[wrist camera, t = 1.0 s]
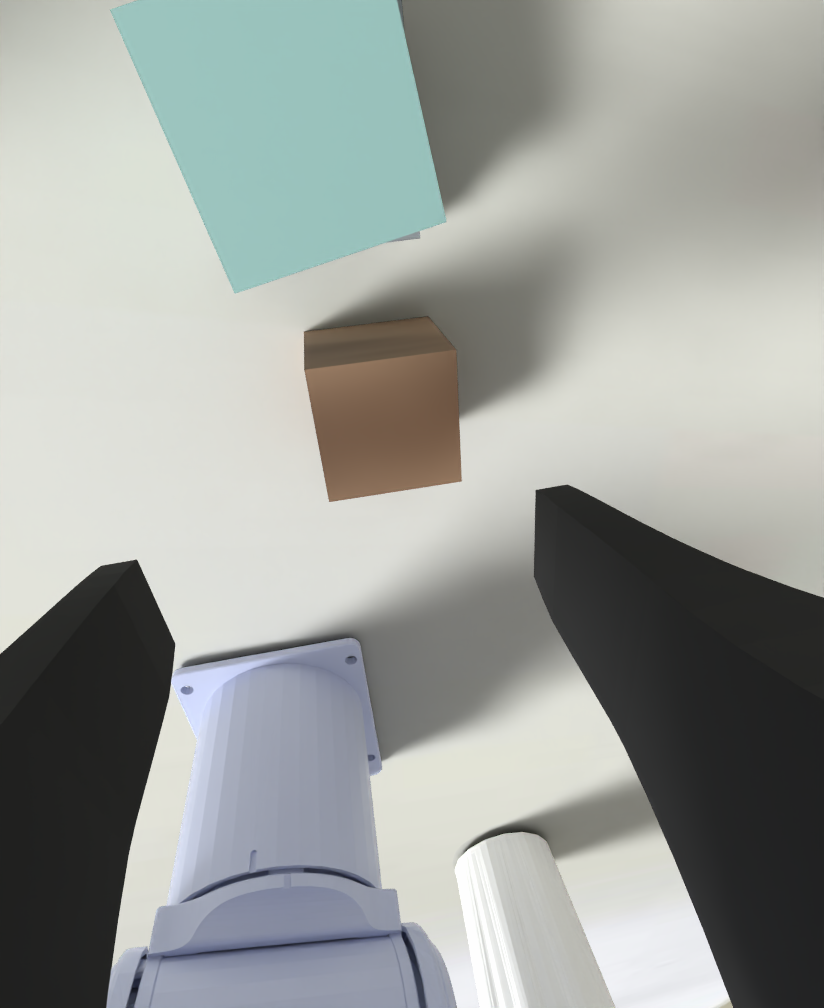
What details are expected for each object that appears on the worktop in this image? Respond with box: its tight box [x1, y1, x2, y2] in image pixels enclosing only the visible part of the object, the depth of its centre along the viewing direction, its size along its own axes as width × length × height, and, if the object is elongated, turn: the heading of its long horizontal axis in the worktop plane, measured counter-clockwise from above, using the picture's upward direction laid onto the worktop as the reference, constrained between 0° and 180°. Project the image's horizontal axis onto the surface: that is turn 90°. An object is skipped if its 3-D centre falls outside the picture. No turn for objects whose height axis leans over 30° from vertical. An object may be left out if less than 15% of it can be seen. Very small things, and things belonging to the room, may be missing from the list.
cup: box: [455, 832, 615, 1008], centre depth 30 cm, size 8×8×14 cm
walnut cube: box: [304, 316, 462, 502], centre depth 17 cm, size 4×4×4 cm
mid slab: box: [110, 0, 446, 293], centre depth 12 cm, size 5×5×2 cm
